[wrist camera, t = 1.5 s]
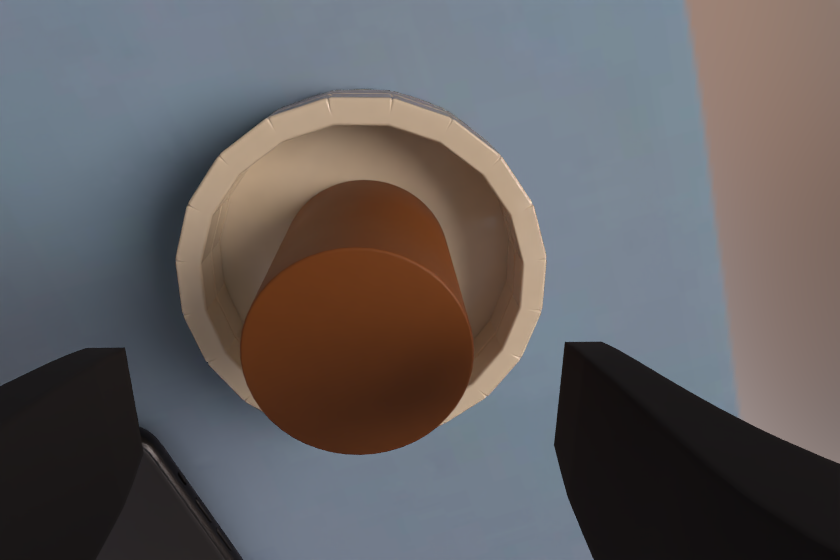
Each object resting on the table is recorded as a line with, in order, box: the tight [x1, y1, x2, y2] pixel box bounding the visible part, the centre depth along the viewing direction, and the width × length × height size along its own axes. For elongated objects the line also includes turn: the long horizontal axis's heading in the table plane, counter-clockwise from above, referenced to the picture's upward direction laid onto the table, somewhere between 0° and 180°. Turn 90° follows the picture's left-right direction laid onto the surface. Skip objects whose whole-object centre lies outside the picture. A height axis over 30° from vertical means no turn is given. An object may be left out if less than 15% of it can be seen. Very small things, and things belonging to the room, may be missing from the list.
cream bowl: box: [175, 89, 547, 426], centre depth 16 cm, size 9×9×2 cm
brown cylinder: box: [240, 180, 474, 455], centre depth 15 cm, size 4×4×6 cm
